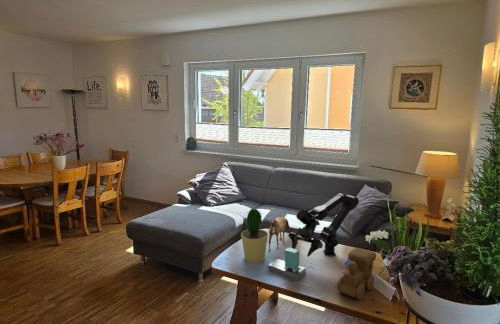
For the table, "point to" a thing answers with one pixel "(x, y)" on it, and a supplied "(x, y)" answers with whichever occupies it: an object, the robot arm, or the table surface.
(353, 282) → the wooden toy train
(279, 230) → the horse figurine
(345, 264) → the hard drive
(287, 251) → the clip
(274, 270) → the grey block with holes
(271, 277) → the table surface
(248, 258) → the potted cactus
